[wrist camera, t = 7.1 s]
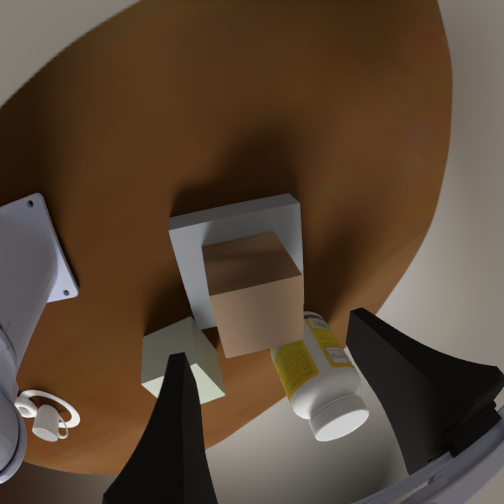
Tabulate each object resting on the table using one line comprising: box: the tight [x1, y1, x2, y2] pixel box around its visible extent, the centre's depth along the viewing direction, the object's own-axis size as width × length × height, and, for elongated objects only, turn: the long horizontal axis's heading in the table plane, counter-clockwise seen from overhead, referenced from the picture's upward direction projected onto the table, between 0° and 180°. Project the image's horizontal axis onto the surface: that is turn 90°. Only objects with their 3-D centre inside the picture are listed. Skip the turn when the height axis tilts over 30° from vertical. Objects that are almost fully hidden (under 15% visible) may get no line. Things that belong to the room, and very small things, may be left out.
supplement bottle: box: [269, 311, 369, 441], centre depth 22 cm, size 6×6×10 cm
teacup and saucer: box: [14, 390, 80, 441], centre depth 23 cm, size 9×8×4 cm
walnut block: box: [201, 231, 304, 358], centre depth 17 cm, size 4×4×5 cm
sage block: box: [141, 316, 226, 404], centre depth 22 cm, size 4×4×5 cm
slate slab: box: [169, 193, 304, 330], centre depth 21 cm, size 8×8×2 cm
